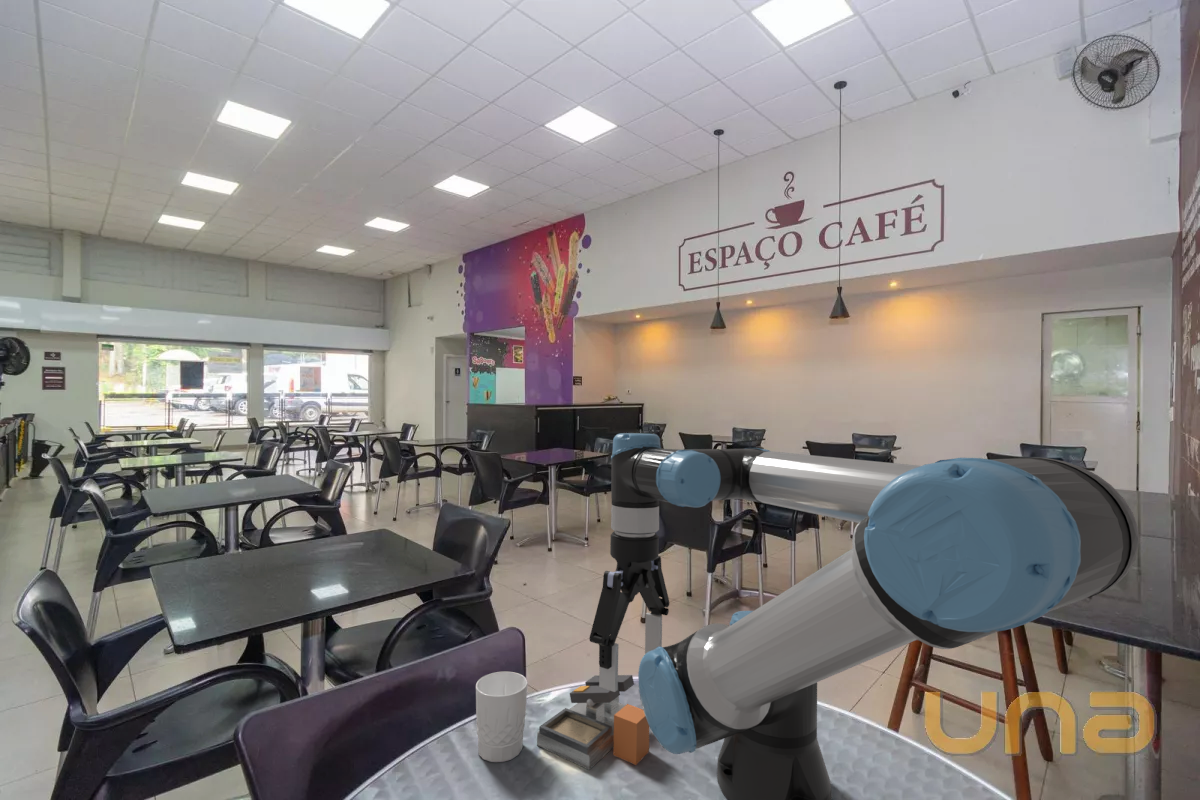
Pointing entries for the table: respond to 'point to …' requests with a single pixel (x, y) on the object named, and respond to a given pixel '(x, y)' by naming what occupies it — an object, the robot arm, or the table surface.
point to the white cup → (500, 715)
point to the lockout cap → (631, 734)
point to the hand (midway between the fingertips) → (632, 670)
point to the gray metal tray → (581, 732)
